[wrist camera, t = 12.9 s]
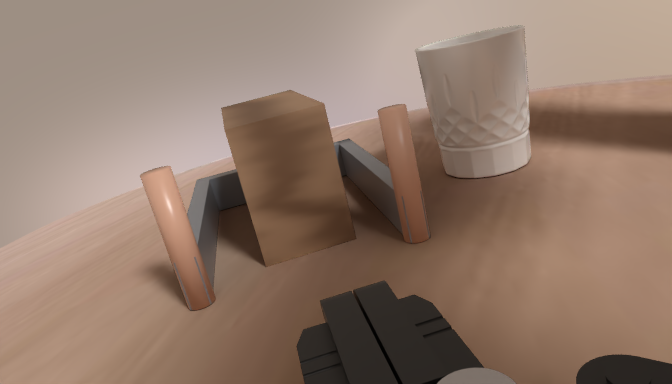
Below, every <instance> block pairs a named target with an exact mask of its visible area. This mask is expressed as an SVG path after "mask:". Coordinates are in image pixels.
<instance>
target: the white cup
mask: <svg viewBox="0 0 672 384" xmlns="http://www.w3.org/2000/svg"><path fill="white" fill-rule="evenodd" d="M524 32H525V31H524V26H521V25H520V26H519V25H518V26H510V27H502V28H497V29H492V30H486V31H481V32H476V33H472V34H467V35H462V36H458V37H454V38H450V39H446V40H443V41H438V42H435V43H431V44H428V45H425V46H422V47H420V48H418V49H416V50H415V51H416V56H417V60H418V64H419V69H420V74H421V78H422V83H423V87H424V92H425V97H426V102H427V106H428V109H429V112H430V117H431V122H432V126H433V128H434V134H435V138H436V141H437V142H438V143H439V149H440V153H441V158H442V163H443V167H444V170H445V172H446V174H448V175H451V176H454V177H458V178H481V177H490V176H496V175H500V174H504V173H507V172H511V171H514V170H516V169H518V168H520V167H522V166H524V165H526V164H527V163H528V161H529V160H530V158H531V147H530V134H529V129H528V128H529V123H530V112H529V90H528V77H527V62H526V47H525V33H524Z"/></svg>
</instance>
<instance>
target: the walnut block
mask: <svg viewBox="0 0 672 384" xmlns="http://www.w3.org/2000/svg"><path fill="white" fill-rule="evenodd" d="M221 109H222V116H223V122H224V129H225V132H226V136H227V139H228V143H229V145H230V149H231V153H232V156H233V159H234V163H235V166H236V169H237V172H238V176H239V179H240V182H241V186H242V189H243V192H244V196H245V199H246V202H247V206H248V209H249V212H250V215H251V219H252V222H253V225H254V229H255V232H256V235H257V239H258V242H259V245H260V249H261V252H262V255H263V258H264V262H265V265H266V267H268V266H271V265H274V264H277V263H281V262H284V261H287V260H290V259H293V258H297V257H300V256H303V255H306V254H309V253H313V252H316V251H319V250H322V249H325V248H329V247H332V246H335V245H338V244H341V243H344V242H348V241H351V240H354V239H356V236H355V231H354V227H353V223H352V219H351V215H350V210H349V206H348V202H347V198H346V194H345V189H344V185H343V181H342V177H341V173H340V168H339V164H338V160H337V156H336V151H335V147H334V143H333V139H332V135H331V130H330V126H329V122H328V118H327V114H326V110H325V105H324V103H322V102H319V101H317V100H314V99H311V98H309V97H306V96H304V95H301V94H299V93H297V92H294V91H292V90H289V91H285V92H281V93H277V94H273V95H269V96H266V97H262V98H258V99H254V100H250V101H246V102H243V103H238V104H235V105H231V106H227V107H223V108H221Z"/></svg>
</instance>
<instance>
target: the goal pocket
mask: <svg viewBox="0 0 672 384" xmlns="http://www.w3.org/2000/svg"><path fill="white" fill-rule="evenodd" d="M378 115H379V120H380V125H381V130H382V135H383V140H384V144H385V149H386V154H387V159H388V164H389V167H387V166H386V165H385V164H383V163H382V162H381V161H379V160H378V159H376V158H375V157H374V156H372V155H371V154H370V153H368V152H367V151H365V150H364V149H363V148H361V147H360V146H358V145H357V144H356V143H354V142H353V141H352V140H350V139H345V140H342V141H338V142H334V147H335V151H336V156H337V160H338V164H339V168H340V173H341V176H344V175H347V176H348V177H349V178H350V179H351V180H352V181H353V182H354V183H355V184H356V186H357V187H358V188H359V189H360V190H361V191H362V192H363V193H364V194H365V195H366V196H367V197H368V198H369V199H370V200H371V201H372V202H373V204H374V205H375V206H376V207H377V208H378V209H379V210H380V211H381V212H382V213H383V214H384V215H385V216H386V217H387V218H388V219H389V220H390V222H391V223H392V224H393V225H394V226H395V227H396V228H397V229H398V230H399V231H400V232H401V233H402V234H403V236H404V240H405V242H408V243H419V242H423V241H425V240H427V239H429V238H430V236H431V235H430V230H429V224H428V219H427V214H426V209H425V203H424V198H423V193H422V187H421V182H420V177H419V172H418V166H417V161H416V156H415V150H414V145H413V140H412V134H411V129H410V124H409V119H408V113H407V108H406V105H405V104H398V105H392V106H388V107H384V108H382V109H379V110H378ZM140 177H141V180H142V183H143V186H144V188H145V191H146V194H147V197H148V199H149V202H150V205H151V207H152V210H153V213H154V216H155V218H156V221H157V224H158V227H159V229H160V232H161V235H162V238H163V240H164V243H165V246H166V249H167V251H168V254H169V257H170V260H171V262H172V265H173V268H174V271H175V273H176V276H177V279H178V282H179V284H180V287H181V290H182V292H183V295H184V298H185V301H186V303H187V306H188V309H190V310H199V309H202V308H205V307H207V306H209V305H210V304H212V303H213V302H214V301H215V298H216V297H215V294H214V292H213V283H214V271H215V259H216V247H217V235H218V222H219V211H220V210H224V209H227V208H231V207H234V206H238V205H241V204H245V203H247V202H246V199H245V196H244V192H243V189H242V186H241V182H240V179H239V176H238V172H237V169H235V170H232V171H228V172H224V173H221V174H217V175H213V176H210V177H206V178H202V179H199V180H197V181H196V185H195V188H194V192H193V196H192V199H191V203H190V206H189V210H188V213H186V210H185V207H184V204H183V201H182V198H181V195H180V193H179V190H178V187H177V184H176V181H175V178H174V175H173V172H172V169H171V167H170V166H164V167H159V168H155V169H152V170H149V171H147V172H145V173H143V174H141V175H140Z"/></svg>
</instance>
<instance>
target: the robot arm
mask: <svg viewBox="0 0 672 384" xmlns="http://www.w3.org/2000/svg"><path fill="white" fill-rule="evenodd" d="M353 293H354V295H353ZM353 293H352V291H349V292H346V293H343V294H339V295H336V296H333V297H330V298H326V299H323V300H320V303H321V308H322V311H323V315H324V319H325V322H326V323H323V324H320V325H317V326H313V327H310V328H307V329H304V330H303V331H302V334H301V336H300V339H299V341H298V344H297V350H298V355H299V359H300V363H301V369H302V373H303V377H304V382H305V384H516V383H515V382H514V381H513V380H512V379H511V378H510V377H508V376H507V375H505V374H503V373H501V372H498V371H495V370H492V369H487V368H484V367H483V366H482V364H481V363H480V362H479V361H478V359H477V358H476V357H475V356H474V354H473V353H472V352H471V351H470V349H469V348H468V347H467V346H466V344H465V343H464V342H463V341H462V339H461V338H460V337H459V336H458V334H457V333H456V332H455V331H454V330H453V329H452V328H451V326H450V325H449V323H448V322H447V321H446V320H445V318H443V316H442V315H441V313H440V312H439V311H438V310H437V308H436V307H435V306H434V305H433V303H431V302H429V301H427V300H425V299H423V298H421V297H418V296H416V295H411V296H408V297H405V298H402V299H399V300H398V299H397V297H396V296H395V294H394V293H393V291H392V290H391V289H390V287H389V286H388V284H387V283H386V281H381V282H378V283H375V284H371V285H368V286H365V287H362V288H358V289H355V290H353ZM576 384H672V364H669V363H665V362H660V361H656V360H651V359H647V358H642V357H637V356H631V355H607V356H602V357H598V358H595V359H593V360H590V361H589V362H587V363H586V364H584V365H583V366H582V367H581V368H580V370H579V371H578V374H577V377H576Z"/></svg>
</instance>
